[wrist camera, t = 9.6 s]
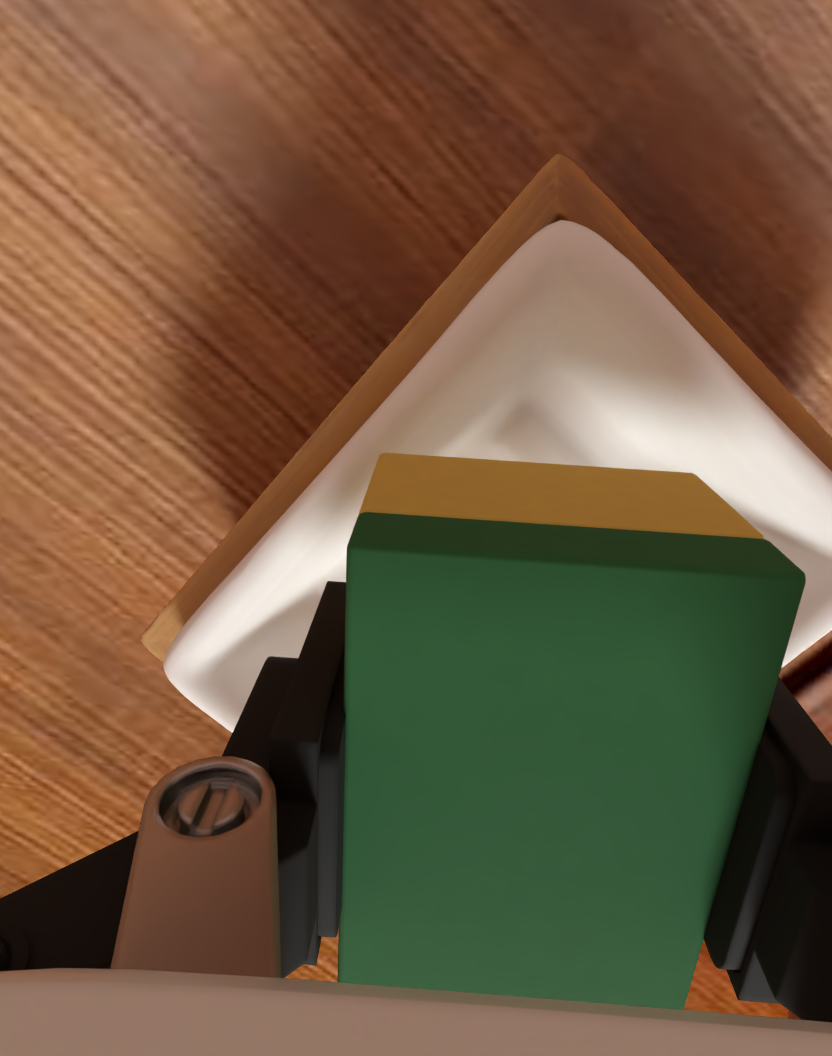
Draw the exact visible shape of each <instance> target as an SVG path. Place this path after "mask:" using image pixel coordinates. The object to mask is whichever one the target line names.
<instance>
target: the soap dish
mask: <svg viewBox="0 0 832 1056" xmlns="http://www.w3.org/2000/svg"><path fill="white" fill-rule="evenodd" d="M382 453H397V454H413V455H428V456H443V457H458V458H473V459H489V460H504V461H519V462H534V463H549V464H565V465H580V466H595V467H610V468H625V469H641V470H656V471H671V472H686V473H693V474H695V475H697V476H698V477H699V478H700V479H701V480H702V481H703V482H705V483H706V484H707V485H708V486H709V487H710V488H711V489H712V490H713V491H714V492H716V493H717V494H718V495H719V496H720V497H721V498H722V499H723V500H724V501H726V502H727V503H728V504H729V505H730V506H731V507H732V508H733V509H734V510H736V511H737V512H738V513H739V514H740V515H741V516H742V517H743V518H744V519H745V520H747V521H748V522H749V523H750V524H751V525H752V526H753V527H754V528H755V529H757V530H758V531H759V532H760V533H761V534H762V535H763V538H764V539H766V540H768V541H770V542H771V543H772V544H773V545H774V546H775V547H776V548H778V549H779V550H780V551H781V552H782V553H783V554H784V555H785V556H786V557H787V558H789V559H790V560H791V561H792V562H793V563H794V564H795V565H796V566H797V567H799V568H800V569H801V570H802V571H803V572H804V573H805V577H806V583H805V587H804V590H803V594H802V597H801V601H800V604H799V608H798V611H797V615H796V618H795V622H794V625H793V629H792V632H791V635H790V639H789V642H788V646H787V649H786V653H785V656H784V660H783V663H782V667H784V666H785V665H786V664H788V663H789V662H790V661H792V660H793V659H794V658H795V657H797V656H798V655H799V654H800V653H802V652H803V651H804V650H806V649H807V648H808V647H810V646H811V645H812V644H814V643H815V642H816V641H818V640H819V639H820V638H822V637H823V636H824V635H826V634H827V633H828V632H830V631H831V630H832V438H831V437H830V435H829V434H828V433H827V432H826V431H825V430H824V429H823V428H822V427H821V426H820V425H819V423H818V422H817V421H816V420H815V419H814V418H813V417H812V416H811V415H810V414H809V413H808V412H807V411H806V409H805V408H804V407H803V406H802V405H801V404H800V403H799V402H798V400H796V399H795V398H794V397H793V396H792V395H791V394H790V393H789V392H788V390H787V389H786V388H785V386H784V385H783V384H782V383H780V382H779V381H778V379H777V378H776V377H775V375H774V374H773V373H772V372H771V371H770V370H769V369H767V368H766V367H765V365H764V364H763V363H762V361H761V360H759V359H758V358H757V357H756V356H755V355H754V354H753V352H752V351H751V350H750V349H749V348H748V347H747V346H746V345H745V344H744V343H743V342H742V341H741V339H740V338H739V337H738V336H737V335H736V334H735V333H734V332H733V331H732V330H731V329H730V328H729V326H728V325H727V324H726V323H725V322H724V321H723V320H722V319H721V318H720V317H719V316H718V315H717V314H716V313H715V312H714V310H713V309H712V308H711V307H710V306H709V305H708V304H707V303H706V302H705V301H704V300H703V299H702V298H701V297H700V296H699V295H698V294H697V293H696V292H695V291H694V290H693V289H692V288H691V286H690V285H689V284H688V283H687V282H686V281H685V280H684V279H683V278H682V277H681V276H680V275H679V274H678V273H677V271H676V270H675V269H674V268H673V267H672V266H671V265H670V264H669V263H668V262H667V261H666V260H665V258H664V257H663V256H662V255H661V254H660V253H659V252H658V251H657V250H656V249H655V248H654V247H653V246H652V245H651V243H650V242H649V241H648V240H647V239H646V238H645V237H644V236H643V235H642V234H641V233H640V232H639V231H638V230H637V228H636V227H635V226H634V225H633V224H632V223H631V222H630V221H629V219H628V218H627V217H626V216H625V215H624V214H623V213H622V212H621V211H620V210H619V209H618V208H617V206H616V205H615V204H614V203H613V202H612V201H611V200H610V199H609V198H608V197H607V196H606V195H605V194H604V193H603V192H602V191H601V190H600V189H599V188H598V187H597V186H596V185H595V184H594V183H593V182H592V181H591V179H590V178H589V177H588V176H587V175H586V173H585V172H584V171H583V170H582V169H580V168H579V167H578V166H577V165H576V164H575V163H574V162H573V161H572V160H571V159H569V158H568V157H566V156H565V155H563V154H561V153H558V154H555V155H554V156H553V157H552V158H551V159H550V160H549V161H548V162H547V163H546V164H545V165H544V166H543V167H542V168H541V169H540V171H539V172H538V173H537V174H536V175H535V177H534V178H533V179H532V180H531V181H530V182H529V184H528V185H527V186H526V187H525V188H524V189H523V190H522V191H521V193H520V194H519V195H518V196H517V197H516V198H515V200H514V201H513V202H512V203H511V204H510V205H509V207H508V208H507V209H506V210H505V212H504V213H503V214H502V215H501V216H500V217H499V218H498V220H497V221H496V222H495V223H494V224H493V226H492V227H491V228H490V229H489V230H488V231H487V232H486V233H485V234H484V235H483V237H482V238H481V239H480V240H479V242H478V243H477V244H476V245H475V246H474V247H473V248H472V249H471V250H470V251H469V253H468V254H467V255H466V256H465V257H464V259H463V260H462V261H461V262H460V264H459V265H458V266H457V267H456V268H455V269H454V270H453V272H452V273H451V274H450V275H449V276H448V277H447V278H446V279H445V280H444V281H443V283H442V284H441V285H440V286H439V287H438V288H437V290H436V291H435V292H434V293H433V294H432V296H431V297H430V298H429V299H428V300H427V301H426V302H425V303H424V305H423V306H422V307H421V308H420V309H419V310H418V312H417V313H416V314H415V315H414V316H413V318H412V319H411V320H410V321H409V322H408V323H407V325H406V326H405V327H404V328H403V329H402V330H401V331H400V332H399V334H398V335H397V337H396V338H395V339H394V340H393V341H392V342H391V343H390V344H389V345H388V347H387V348H386V349H385V350H384V351H383V352H382V353H381V354H380V355H379V357H378V358H377V359H376V361H375V362H374V363H373V364H372V365H371V366H370V368H369V369H368V370H367V371H366V372H365V373H364V375H363V376H362V377H361V378H360V379H359V380H358V381H357V382H356V384H355V385H354V386H353V387H352V388H351V390H350V391H349V392H348V393H347V394H346V396H345V397H344V398H343V399H342V400H341V401H340V403H339V404H338V405H337V406H336V407H335V408H334V409H333V410H332V412H331V413H330V414H329V416H328V417H327V418H326V419H325V420H324V421H323V422H322V423H321V425H320V426H319V427H318V428H317V430H316V431H315V432H314V433H313V434H312V435H311V436H310V438H309V439H308V440H307V441H306V442H305V444H304V445H303V446H302V447H301V448H300V449H299V451H298V452H297V453H296V454H295V455H294V457H293V458H292V459H291V460H290V461H289V462H288V464H287V465H286V466H285V467H284V468H283V469H282V471H281V472H280V473H279V474H278V475H277V477H276V478H275V479H274V480H273V481H272V482H271V483H270V485H269V486H268V487H267V488H266V489H265V491H264V492H263V493H262V494H261V495H260V497H259V498H258V499H257V500H256V501H255V502H254V503H253V504H252V506H251V507H250V508H249V509H248V511H247V512H246V513H245V514H244V515H243V516H242V518H241V519H240V520H239V521H238V522H237V524H236V525H235V526H234V527H233V528H232V529H231V530H230V532H229V533H228V534H227V536H226V537H225V538H224V539H223V540H222V541H221V542H220V544H219V545H218V546H217V548H216V549H215V550H214V551H213V552H212V553H211V554H210V555H209V556H208V558H207V559H206V560H205V561H204V563H203V564H202V565H201V566H200V567H199V569H198V570H197V571H196V572H195V573H194V574H193V576H192V577H191V578H190V579H189V580H188V582H187V583H186V584H185V585H184V586H183V587H182V589H181V590H180V591H179V592H178V593H177V594H176V596H175V597H174V598H173V599H172V600H171V601H170V603H169V604H168V605H167V606H166V607H165V608H164V610H163V611H162V612H161V613H160V614H159V615H158V616H157V618H156V619H155V620H154V621H153V622H152V623H151V625H150V626H149V627H148V628H147V629H146V631H145V632H144V634H143V635H142V636H141V642H142V643H143V644H144V646H145V647H146V648H147V649H148V650H149V651H150V652H151V653H152V654H153V655H154V656H156V657H157V658H158V659H160V660H161V661H162V662H164V670H165V673H166V676H167V677H168V679H169V681H170V682H171V683H172V684H173V685H174V686H175V687H176V688H177V689H178V690H179V691H180V692H181V693H182V694H183V695H184V696H185V697H186V698H187V699H189V700H190V701H191V702H192V703H193V704H195V705H196V706H197V707H199V708H200V709H201V710H203V711H204V712H205V713H207V714H208V715H209V716H211V717H212V718H213V719H214V720H216V721H217V722H218V723H220V724H221V725H222V726H224V727H225V728H227V729H228V730H229V731H231V732H232V733H233V731H234V729H235V726H236V724H237V722H238V720H239V718H240V715H241V713H242V711H243V709H244V707H245V704H246V702H247V700H248V698H249V696H250V693H251V691H252V689H253V687H254V685H255V682H256V680H257V678H258V676H259V674H260V671H261V669H262V667H263V665H264V663H265V661H266V659H267V658H268V657H270V656H275V657H289V658H299V655H300V652H301V650H302V647H303V645H304V642H305V639H306V637H307V634H308V631H309V629H310V626H311V623H312V621H313V618H314V615H315V613H316V610H317V607H318V605H319V602H320V599H321V597H322V594H323V591H324V589H325V586H326V583H327V582H328V581H336V582H346V558H347V545H348V542H349V540H350V537H351V534H352V531H353V528H354V525H355V523H356V520H357V518H358V516H359V511H360V508H361V506H362V503H363V500H364V497H365V494H366V491H367V489H368V486H369V483H370V480H371V477H372V475H373V472H374V469H375V466H376V463H377V460H378V458H379V456H380V454H382ZM782 667H781V668H782Z"/></svg>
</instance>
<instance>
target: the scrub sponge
mask: <svg viewBox="0 0 832 1056" xmlns="http://www.w3.org/2000/svg"><path fill="white" fill-rule="evenodd" d="M805 583H806V577H805V573H804V572H803V571H802V570H801V569H800V568H799V567H797V566H796V565H795V564H794V563H793V562H792V561H791V560H790V559H789V558H787V557H786V556H785V555H784V554H783V553H782V552H781V551H780V550H779V549H778V548H776V547H775V546H774V545H773V544H772V543H771V542H770V541H768V540H766V539H764V538H763V535H762V534H761V533H760V532H759V531H758V530H757V529H755V528H754V527H753V526H752V525H751V524H750V523H749V522H748V521H747V520H745V519H744V518H743V517H742V516H741V515H740V514H739V513H738V512H737V511H736V510H734V509H733V508H732V507H731V506H730V505H729V504H728V503H727V502H726V501H724V500H723V499H722V498H721V497H720V496H719V495H718V494H717V493H716V492H714V491H713V490H712V489H711V488H710V487H709V486H708V485H707V484H706V483H705V482H703V481H702V480H701V479H700V478H699V477H698V476H697V475H695V474H693V473H686V472H671V471H656V470H641V469H625V468H610V467H595V466H580V465H565V464H549V463H534V462H519V461H504V460H489V459H473V458H458V457H443V456H428V455H413V454H397V453H382V454H380V456H379V458H378V460H377V463H376V466H375V469H374V472H373V475H372V477H371V480H370V483H369V486H368V489H367V491H366V494H365V497H364V500H363V503H362V506H361V508H360V511H359V516H358V518H357V520H356V523H355V525H354V528H353V531H352V534H351V537H350V540H349V542H348V545H347V558H346V606H345V655H344V704H343V709H344V712H345V713H346V739H345V783H344V828H343V873H342V910H341V916H340V922H339V946H338V982H340V983H353V984H366V985H379V986H392V987H405V988H418V989H431V990H444V991H457V992H470V993H483V994H496V995H509V996H521V997H534V998H546V999H558V1000H570V1001H582V1002H594V1003H607V1004H619V1005H631V1006H643V1007H655V1008H667V1009H679V1010H683V1009H684V1006H685V1002H686V999H687V995H688V992H689V988H690V985H691V981H692V978H693V974H694V971H695V967H696V964H697V960H698V957H699V953H700V950H701V946H702V943H703V939H704V938H703V937H704V934H705V930H706V927H707V923H708V920H709V916H710V913H711V909H712V906H713V902H714V899H715V895H716V892H717V888H718V885H719V881H720V878H721V874H722V871H723V867H724V864H725V860H726V857H727V853H728V850H729V846H730V843H731V839H732V836H733V832H734V829H735V825H736V822H737V818H738V815H739V811H740V808H741V804H742V801H743V797H744V794H745V790H746V787H747V783H748V780H749V776H750V773H751V769H752V766H753V762H754V759H755V755H756V752H757V748H758V745H759V744H760V740H761V737H762V733H763V730H764V726H765V723H766V719H767V716H768V712H769V709H770V705H771V702H772V698H773V695H774V691H775V688H776V684H777V681H778V677H779V674H780V670H781V667H782V663H783V660H784V656H785V653H786V649H787V646H788V642H789V639H790V635H791V632H792V629H793V625H794V622H795V618H796V615H797V611H798V608H799V604H800V601H801V597H802V594H803V590H804V587H805Z"/></svg>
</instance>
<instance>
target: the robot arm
mask: <svg viewBox="0 0 832 1056" xmlns="http://www.w3.org/2000/svg"><path fill="white" fill-rule="evenodd" d="M345 606H346V582H336V581H328V582H327V583H326V586H325V589H324V591H323V594H322V597H321V599H320V602H319V605H318V607H317V610H316V613H315V615H314V618H313V621H312V623H311V626H310V629H309V631H308V634H307V637H306V639H305V642H304V645H303V647H302V650H301V652H300V655H299V658H289V657H275V656H270V657H268V658H267V659H266V661H265V663H264V665H263V667H262V669H261V671H260V674H259V676H258V678H257V680H256V682H255V685H254V687H253V689H252V691H251V693H250V696H249V698H248V700H247V702H246V704H245V707H244V709H243V711H242V713H241V715H240V718H239V720H238V722H237V724H236V726H235V729H234V731H233V733H232V735H231V737H230V740H229V742H228V744H227V746H226V748H225V751H224V753H223V755H222V756H214V757H208V758H203V759H198V760H194V761H192V762H189V763H187V764H184V765H182V766H179V767H177V768H176V769H174V770H173V771H171V772H170V773H168V774H167V775H165V776H164V777H162V778H161V779H160V780H159V781H158V782H157V784H156V785H155V786H154V787H153V788H152V789H151V790H150V792H149V795H148V797H147V799H146V802H145V804H144V808H143V813H142V817H141V822H140V827H139V831H137V832H135V833H133V834H131V835H129V836H127V837H125V838H123V839H121V840H119V841H117V842H115V843H113V844H111V845H109V846H107V847H105V848H103V849H101V850H99V851H97V852H95V853H93V854H91V855H88V856H86V857H84V858H82V859H80V860H78V861H76V862H74V863H72V864H70V865H68V866H66V867H64V868H62V869H60V870H58V871H56V872H54V873H52V874H50V875H48V876H46V877H44V878H42V879H40V880H37V881H35V882H33V883H31V884H29V885H27V886H25V887H23V888H21V889H19V890H17V891H15V892H13V893H11V894H9V895H7V896H5V897H3V898H1V899H0V1056H832V746H831V744H830V743H829V742H828V740H827V739H826V738H825V736H824V735H823V734H822V733H821V731H820V730H819V729H818V727H817V726H816V725H815V723H814V722H813V721H812V720H811V718H810V717H809V716H808V714H807V713H806V712H805V711H804V709H803V708H802V707H801V705H800V704H799V703H798V701H797V700H796V699H795V698H794V696H793V695H792V694H791V692H790V691H789V690H788V689H787V687H786V686H785V685H784V683H783V682H782V681H781V679H780V678H779V677H778V681H777V684H776V688H775V691H774V695H773V698H772V702H771V705H770V709H769V712H768V716H767V719H766V723H765V726H764V730H763V733H762V737H761V740H760V744H759V745H758V748H757V752H756V755H755V759H754V762H753V766H752V769H751V773H750V776H749V780H748V783H747V787H746V790H745V794H744V797H743V801H742V804H741V808H740V811H739V815H738V818H737V822H736V825H735V829H734V832H733V836H732V839H731V843H730V846H729V850H728V853H727V857H726V860H725V864H724V867H723V871H722V874H721V878H720V881H719V885H718V888H717V892H716V895H715V899H714V902H713V906H712V909H711V913H710V916H709V920H708V923H707V927H706V930H705V934H704V937H703V938H704V941H705V943H706V946H707V949H708V951H709V954H710V957H711V959H712V961H713V963H714V965H715V966H716V967H717V968H719V969H726V970H727V972H728V975H729V977H730V980H731V983H732V985H733V988H734V990H735V993H736V996H737V998H738V1000H743V1001H755V1002H767V1003H779V1004H782V1005H783V1006H784V1007H786V1008H787V1009H788V1010H789V1012H788V1019H786V1018H774V1017H762V1016H750V1015H739V1014H727V1013H715V1012H703V1011H691V1010H679V1009H667V1008H655V1007H643V1006H631V1005H619V1004H607V1003H594V1002H582V1001H570V1000H558V999H546V998H534V997H521V996H509V995H496V994H483V993H470V992H457V991H444V990H431V989H418V988H405V987H392V986H379V985H366V984H353V983H340V982H327V981H314V980H301V979H288V978H285V977H286V976H287V975H289V974H290V973H291V972H293V971H294V970H296V969H297V968H298V967H300V966H301V965H303V964H307V965H316V964H317V958H318V953H319V948H320V943H321V937H322V936H324V937H336V936H337V933H338V928H339V922H340V916H341V910H342V873H343V828H344V783H345V739H346V713H345V712H344V709H343V704H344V655H345Z"/></svg>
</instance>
